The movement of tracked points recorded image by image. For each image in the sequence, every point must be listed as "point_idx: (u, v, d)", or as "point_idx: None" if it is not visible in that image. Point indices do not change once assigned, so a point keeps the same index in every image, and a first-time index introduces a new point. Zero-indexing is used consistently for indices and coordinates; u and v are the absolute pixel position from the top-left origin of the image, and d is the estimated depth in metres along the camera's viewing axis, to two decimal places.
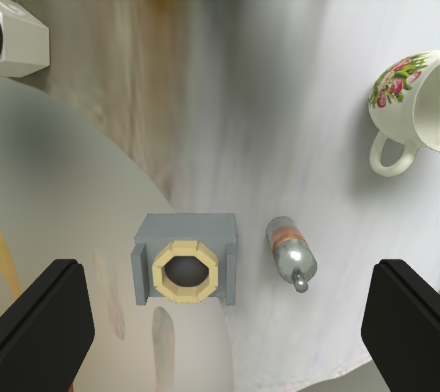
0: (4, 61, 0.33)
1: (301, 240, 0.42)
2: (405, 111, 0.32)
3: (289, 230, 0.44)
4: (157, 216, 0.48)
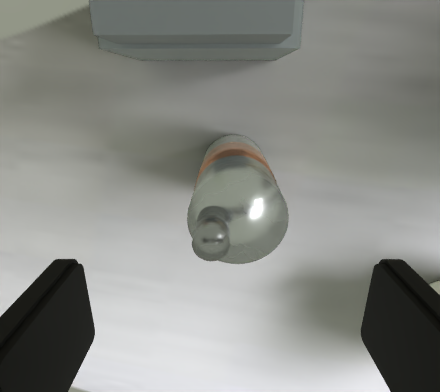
0: None
1: None
2: None
3: None
4: None
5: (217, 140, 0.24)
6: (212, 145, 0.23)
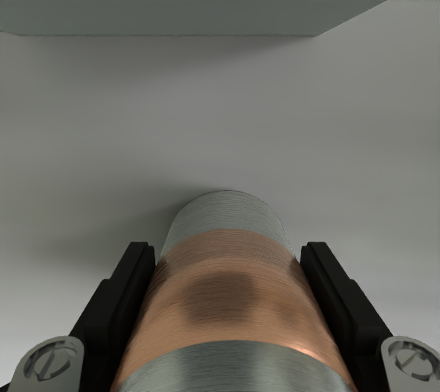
0: None
1: None
2: None
3: None
4: None
5: (192, 204, 0.12)
6: (181, 217, 0.11)
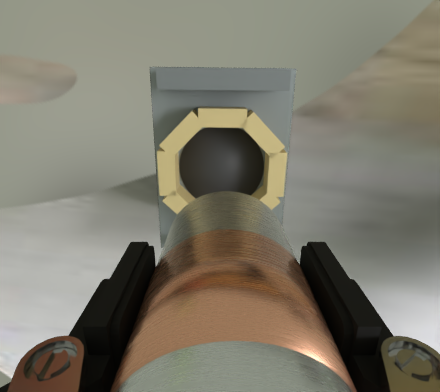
0: None
1: None
2: None
3: None
4: None
5: (192, 205, 0.12)
6: (181, 218, 0.11)
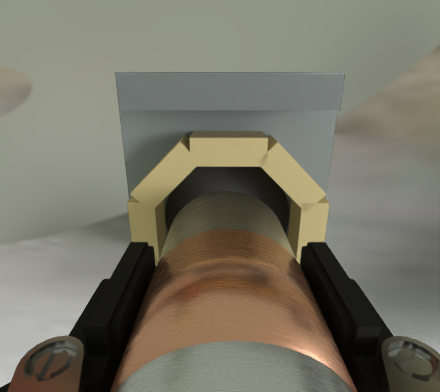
0: None
1: None
2: None
3: None
4: None
5: (192, 205, 0.12)
6: (181, 218, 0.11)
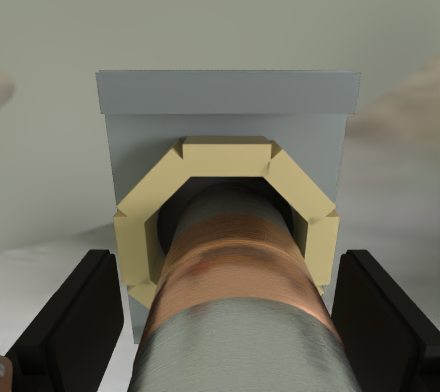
0: None
1: None
2: None
3: None
4: None
5: (200, 195, 0.13)
6: (190, 206, 0.12)
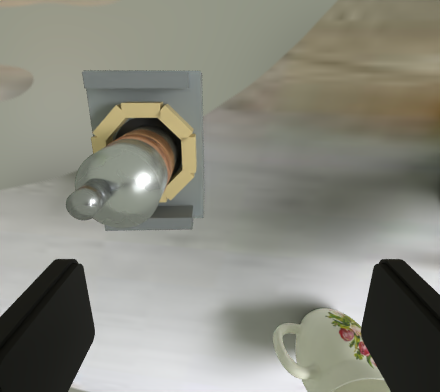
0: None
1: (165, 188, 0.22)
2: (352, 366, 0.35)
3: (172, 164, 0.23)
4: None
5: None
6: None
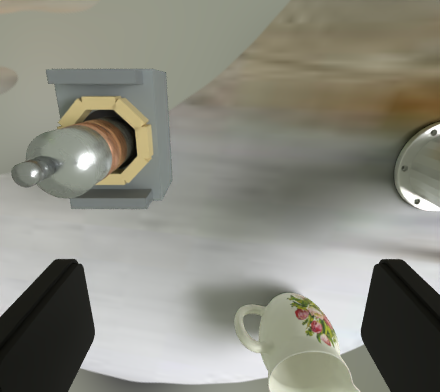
0: None
1: (110, 168, 0.25)
2: (301, 341, 0.38)
3: (121, 149, 0.27)
4: (165, 86, 0.37)
5: None
6: None
